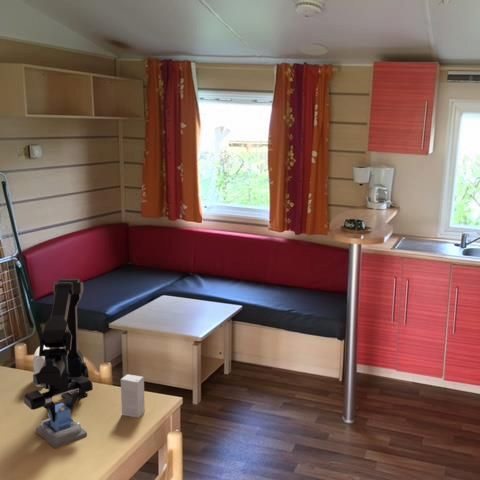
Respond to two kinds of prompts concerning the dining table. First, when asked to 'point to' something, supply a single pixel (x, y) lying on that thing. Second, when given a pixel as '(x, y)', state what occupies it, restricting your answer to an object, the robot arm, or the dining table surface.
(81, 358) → the robot arm
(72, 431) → the grey shallow tray
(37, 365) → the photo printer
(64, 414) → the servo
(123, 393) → the skincare box
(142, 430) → the dining table surface
